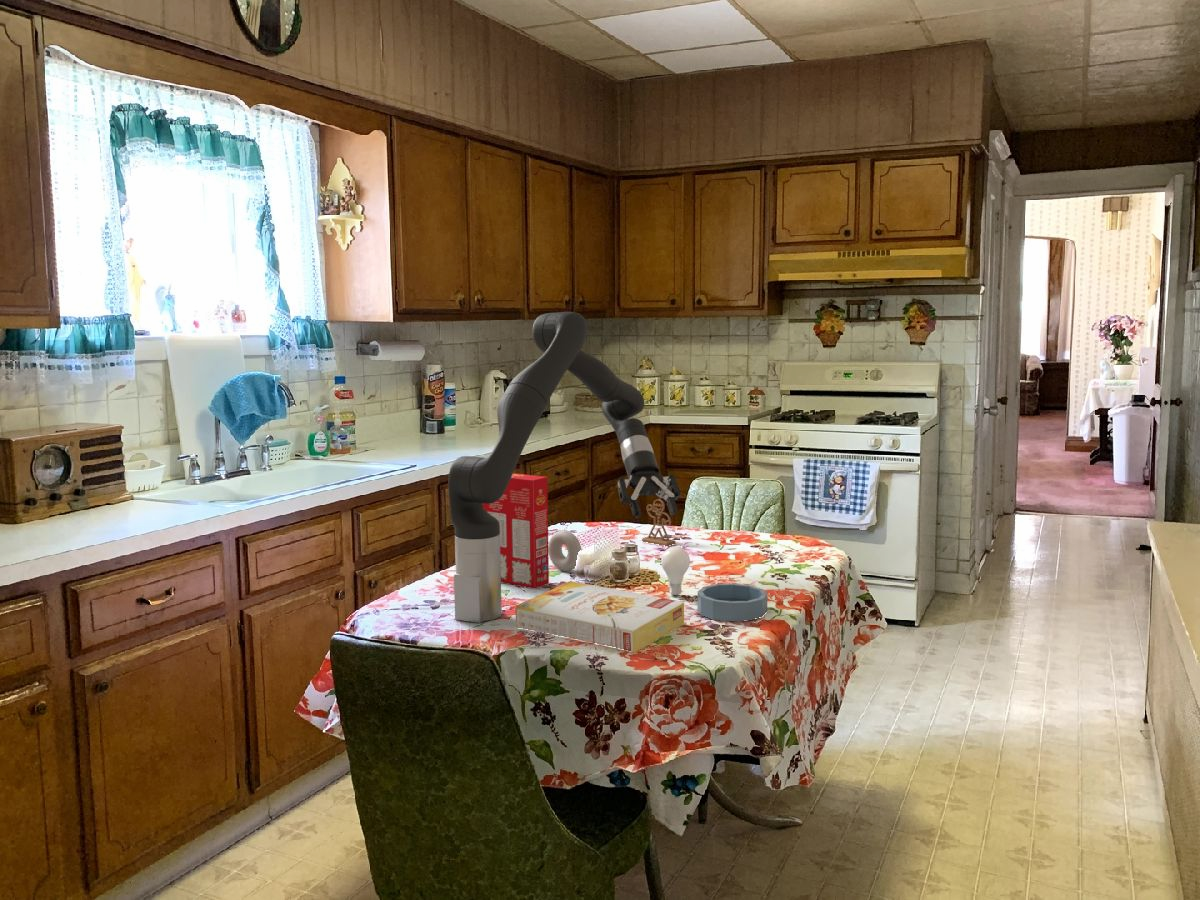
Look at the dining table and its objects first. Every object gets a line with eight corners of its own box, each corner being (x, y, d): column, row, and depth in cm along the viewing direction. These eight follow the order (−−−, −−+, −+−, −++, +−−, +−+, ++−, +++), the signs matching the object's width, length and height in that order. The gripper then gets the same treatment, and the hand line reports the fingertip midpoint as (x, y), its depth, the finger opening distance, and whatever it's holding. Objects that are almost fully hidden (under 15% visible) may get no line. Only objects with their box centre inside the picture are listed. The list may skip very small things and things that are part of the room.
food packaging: (548, 583, 233) (547, 476, 230) (535, 588, 229) (533, 480, 225) (499, 574, 241) (497, 471, 238) (485, 579, 237) (482, 474, 233)
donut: (584, 572, 242) (584, 532, 241) (575, 575, 240) (574, 534, 238) (555, 565, 249) (554, 526, 247) (545, 568, 246) (544, 528, 245)
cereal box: (569, 579, 217) (686, 598, 202) (570, 604, 218) (686, 624, 203) (513, 605, 200) (636, 627, 185) (514, 632, 201) (636, 656, 186)
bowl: (755, 625, 202) (755, 606, 201) (689, 616, 208) (689, 597, 207) (773, 606, 214) (774, 588, 214) (711, 598, 220) (711, 580, 220)
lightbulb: (666, 600, 219) (666, 551, 217) (657, 592, 225) (657, 544, 223) (693, 598, 221) (694, 549, 219) (683, 590, 227) (684, 542, 225)
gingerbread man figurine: (676, 544, 271) (676, 500, 269) (667, 546, 268) (667, 502, 266) (650, 539, 277) (650, 496, 275) (641, 541, 274) (641, 498, 272)
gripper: (614, 450, 236) (631, 508, 226) (671, 447, 240) (689, 503, 231) (607, 469, 241) (623, 526, 232) (662, 466, 246) (680, 521, 237)
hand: (656, 515), depth 232 cm, fingers open, 8 cm apart
